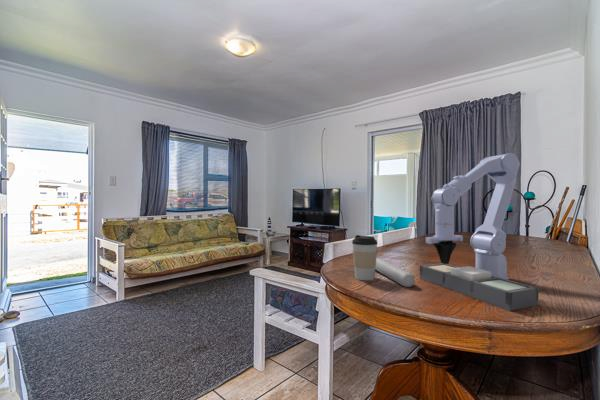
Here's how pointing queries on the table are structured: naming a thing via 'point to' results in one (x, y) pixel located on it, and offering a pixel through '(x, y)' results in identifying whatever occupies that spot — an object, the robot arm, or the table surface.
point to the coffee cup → (364, 257)
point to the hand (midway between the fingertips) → (444, 263)
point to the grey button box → (482, 288)
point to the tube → (394, 273)
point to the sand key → (442, 268)
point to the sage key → (503, 285)
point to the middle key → (471, 273)
